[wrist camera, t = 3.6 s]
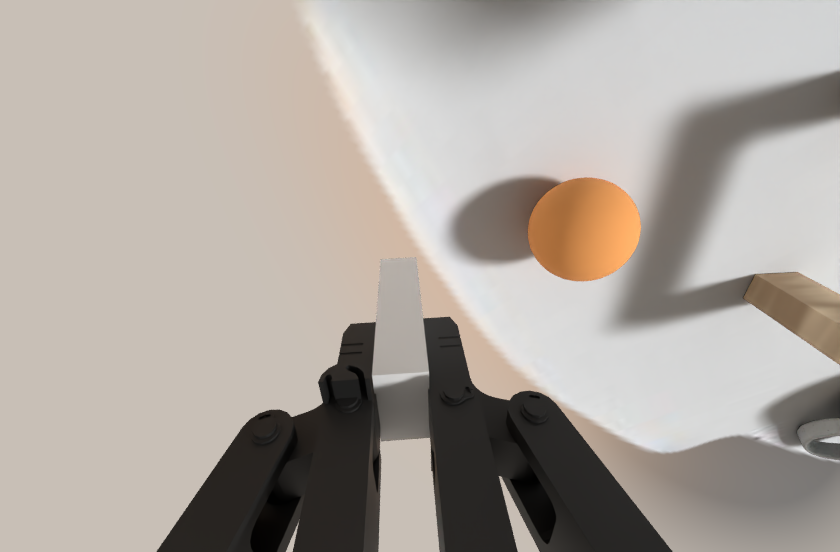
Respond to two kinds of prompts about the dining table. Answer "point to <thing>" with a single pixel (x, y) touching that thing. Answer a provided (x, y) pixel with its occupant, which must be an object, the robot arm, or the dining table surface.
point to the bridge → (800, 308)
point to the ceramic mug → (821, 430)
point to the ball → (584, 229)
